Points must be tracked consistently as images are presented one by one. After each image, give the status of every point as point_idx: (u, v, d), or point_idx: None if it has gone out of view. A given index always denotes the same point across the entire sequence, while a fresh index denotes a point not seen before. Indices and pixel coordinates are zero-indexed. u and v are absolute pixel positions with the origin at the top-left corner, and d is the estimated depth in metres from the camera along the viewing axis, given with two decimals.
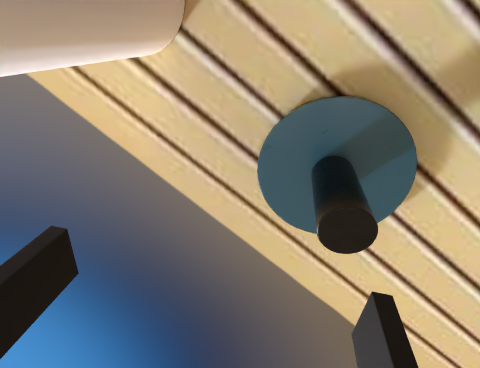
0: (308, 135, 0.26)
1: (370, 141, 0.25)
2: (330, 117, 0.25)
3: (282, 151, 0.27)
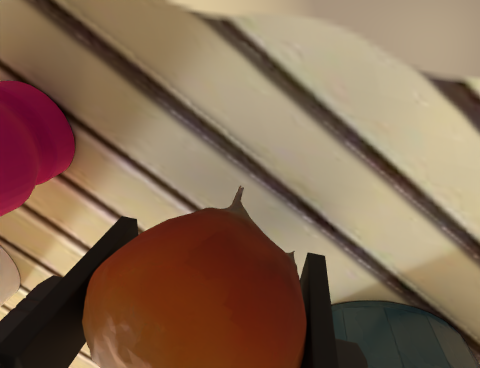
0: None
1: None
2: None
3: None
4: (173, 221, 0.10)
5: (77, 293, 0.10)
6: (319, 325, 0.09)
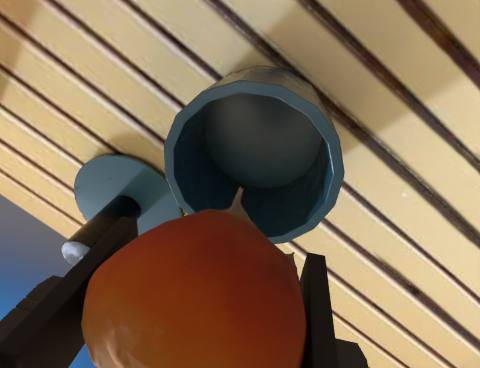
0: (100, 180, 0.35)
1: (141, 185, 0.34)
2: (109, 168, 0.34)
3: (88, 191, 0.36)
4: (172, 222, 0.10)
5: (77, 293, 0.10)
6: (319, 325, 0.09)
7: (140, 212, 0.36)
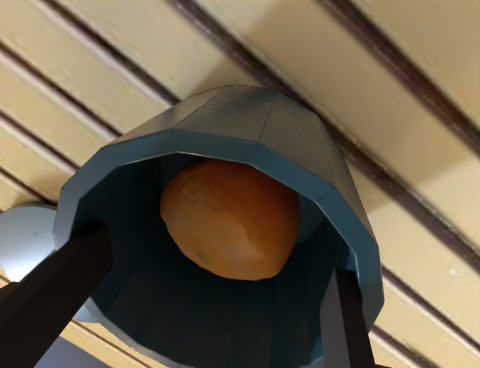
0: (23, 236, 0.25)
1: None
2: (33, 222, 0.24)
3: (9, 248, 0.26)
4: None
5: (34, 300, 0.09)
6: (356, 350, 0.09)
7: None
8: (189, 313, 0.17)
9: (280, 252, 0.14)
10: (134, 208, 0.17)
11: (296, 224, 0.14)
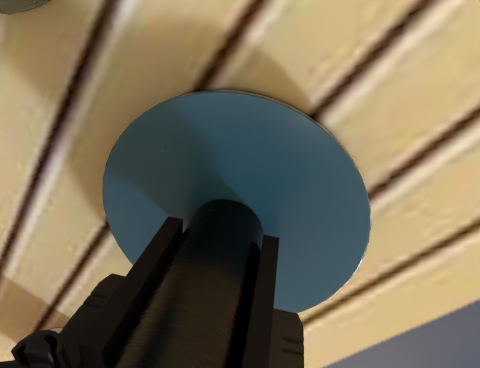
0: None
1: (159, 180, 0.15)
2: (136, 233, 0.17)
3: None
4: None
5: (141, 290, 0.10)
6: (261, 296, 0.10)
7: (235, 201, 0.14)
8: None
9: None
10: None
11: None
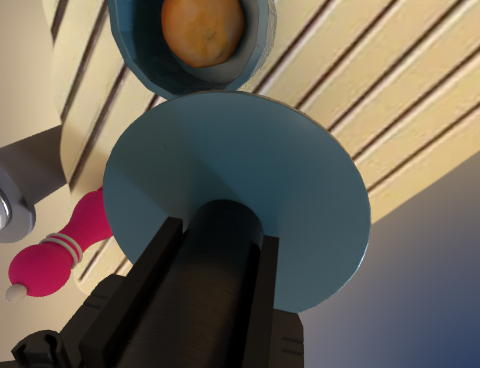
0: None
1: (159, 180, 0.15)
2: (136, 233, 0.17)
3: None
4: None
5: (141, 290, 0.10)
6: (261, 296, 0.10)
7: (235, 201, 0.14)
8: None
9: None
10: (206, 87, 0.30)
11: None
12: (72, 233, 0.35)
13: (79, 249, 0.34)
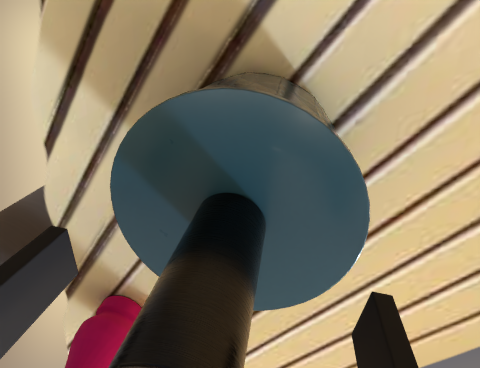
0: (172, 251, 0.18)
1: (165, 174, 0.15)
2: (142, 226, 0.17)
3: None
4: None
5: None
6: None
7: (239, 194, 0.15)
8: None
9: None
10: None
11: None
12: None
13: None
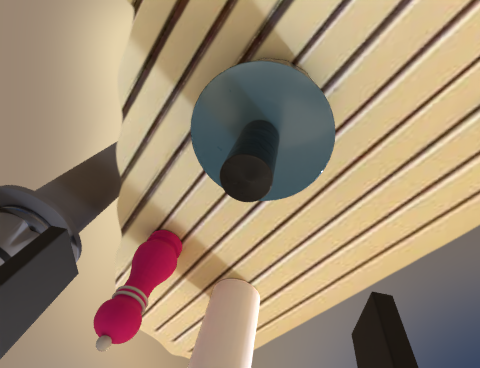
0: (224, 161, 0.30)
1: (224, 110, 0.28)
2: (207, 145, 0.30)
3: None
4: None
5: None
6: None
7: (265, 121, 0.27)
8: None
9: None
10: None
11: None
12: (139, 284, 0.41)
13: (146, 299, 0.40)
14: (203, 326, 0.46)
